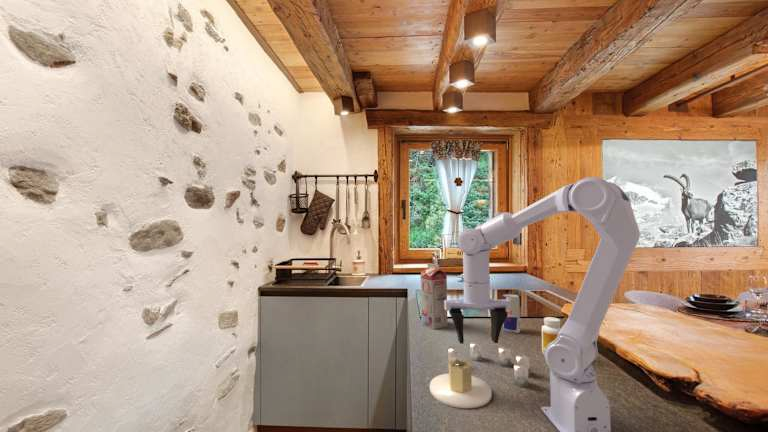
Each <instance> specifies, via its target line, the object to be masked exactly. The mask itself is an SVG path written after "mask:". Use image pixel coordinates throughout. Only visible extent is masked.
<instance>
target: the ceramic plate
mask: <svg viewBox="0 0 768 432" xmlns="http://www.w3.org/2000/svg"><path fill="white" fill-rule="evenodd" d="M471 378H472V390H471V391H468V392H465V393H459V392H456V391H452V390H451V389H450V386H449V372H448V373H442V374H440V375H437V376H434V377H433V378H432V379H431V380H430V382H429V391H430V394H431V395H432V397H433V398H434V399H435V400H437V401H438V402H439V403H442V404H444V405H446V406H449V407H454V408H457V409H476V408H477V409H478V408H481V407H483V406H486V405H487V404H489V402H490V401H492V395H493V394H492V388H491V386H490V385H489V384H488V383H487V382H486V381H485V380H482V379H481V378H479V377H477V376H474V375H471Z"/></svg>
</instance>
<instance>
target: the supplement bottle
mask: <svg viewBox="0 0 768 432" xmlns="http://www.w3.org/2000/svg"><path fill="white" fill-rule="evenodd" d="M543 323H544V325H542V326H541V351H542V352H541V353H542V354H543V355H544V353H545V349H546V347H547V345H548V344H550V343H551V342H553V341H554V340H555V339H556V338H557V336H558V334H559V332H560V330H561V328H562V327H561V319H560V318H557V317H551V316H546V317H543Z"/></svg>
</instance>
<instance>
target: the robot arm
mask: <svg viewBox="0 0 768 432" xmlns="http://www.w3.org/2000/svg"><path fill="white" fill-rule="evenodd" d="M631 202H632V201H631V199H630V196H628V194H626V192H625V191H624V190H623V189H622V188H621V187H620V186H619V185H617V184H616V183H614V182H611V181H607V180H605V179H603V178H601V177H598V176H588V177H584V178H581V179H580V180H578V181H577V182H575V183H570V184H567V185H564V186H563V187H560V188H559V189H557V190H555V191H554V192H552V193H550V194H548V195H546V196H544V197H543V198H541V199H539V200H537V201H535V202H534V203H531V204H530V205H529V206H526V207H524V208H523V209H520V210H519V211H517V212H515V213H514V214H513V213H510V212H508V211H506V212H505V211H504V212H501V211H498V212H496V213H494V214H493V216H494V217H493V218H490V219H489V220H487V221H484V222H479V223H476V227H475V228H472V227H470V228H469V227H467V228H464V229H463V231H461V232H460V233H459V235H458V237H457V245H458V248H459V250H460V251H461V252H462V268H463V270H462V273H463V274H462V275H463V277H462V278H463V298H455V299H447V300H444V309H445V310H446V311H447V312H449V315H450V317H451V319H452V322H453V324H454V326H455V331H456V335H457V340H458V342H459V344H464V342H465V339H464V337H465V336H464V321H465V320H464V317H465V315H464V314H463V310H464V311H465V310H466V311H467V310H471V311H473V310H479V311H480V310H489V315H490V336H491V341H492V342H493V343H494V344H498V343H499V339H500V333H501V330H502V329H503V323H504V322H505V320H506V318H507V316H508V312H506V310H511V306H510V301H509V300H507V299H501V298H500V299H499V298H498V299H497V298H491V289H490V288H491V287H490V285H491V284H490V282H491V281H490V252H491V251H492V249H493V248H495V247H497V246H499V245H503V244H504V243H506V242H508V241H511V240H514V239H515V238H518V237H519V236H520V234H521V232H522V229H523V228H525V227H528V226H530V225H532V224H535V223H538V222H540V221H542V220H544V219H547V218H549V217H552V216H555V215H558V214H559V213H578V214H580V215H581V216H582V217H583V218H585V219H587V221H589V222H590V224H591V225H592V227H593V229H594V230H595V231H596V232H597V234H598V236H599V237H600V239H599V242H598V245H597V248H596V250H595V251H594V254H593V256H592V259H591V262H590V264H589V266H588V268H587V272H586V273H585V275H584V279H583V281H582V283H581V286H580V288H579V290H578V294H577V295H576V297H575V298H576V299H575V300H574V303H573V305H572V308H571V310H570V312H569V314H568V317H567V319H566V321H565V323H564V324H563V325H562V327H561V330H560V332H559V334H558V336H557V338H556V339H555V340H554V341H553V342H551V343H550V344H548V345H547V347H546V349H545V353H544V354H543V355H544V356H543V357H544V361H545V362H546V365H547V366H548V368H549V389H550V390H549V391H550V393H549V394H550V406H541V411H542V412H543V413H544V415H546V417H547V418H548V419H549V421H550V422H551V423H552V424H553V425H554V427H556V429H557V430H558V431H559V432H612V431H611V430H612V429H611V404H610V402H609V399H608V397H607V395H605V394H604V392H603V391H602V390H601V388H599V385H598V381H597V373H596V372H595V369H594V367H593V365H592V363H593V362H594V361H595V360H596V359H597V357H598V353H599V351H598V338H599V337H600V336H599V335H600V329H601V327H602V324H603V323H604V319H605V317H606V315H607V313H608V310H609V308H610V306H611V304H612V301H613V299H614V297H615V295H616V292H617V290H618V288H619V285H620V283H621V281H622V280H623V276H624V274H625V272H626V270H627V267H628V265H629V263H630V261H631V258H632V256H633V254H634V251H635V250H636V247H637V245H638V243H639V241H640V237H641V232H640V229H639V226H638V223H637V219H636V216H635V214H634V210H633V207H632V203H631Z"/></svg>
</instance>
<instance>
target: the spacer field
mask: <svg viewBox="0 0 768 432" xmlns="http://www.w3.org/2000/svg"><path fill="white" fill-rule="evenodd" d="M447 349H448V350H447V355H448V357H447V358H448V360H447V361H451V360H455V359H460V360H461V348H460V347H458V346H449V347H448V348H447ZM497 351H498V353H497V354H498V355H497V356H498V365H499V366H501V367H504V366H505V368H508V366H509V367H511V366H512V350H511V348H510V347H508V346H505V345H504V346H502V345H500V346H498V349H497ZM482 353H483V352H482V343H481V342H479V341H470V342H469V358H470V360H471V361H475V362H479V361H482ZM530 367H531V366H530V356H529V355H527V354H523V353H517V354H516V355H515V363H513V384H514V385H515V386H518V387H520V388H527V387H529V384H530V383H529V376H530V375H531V373H530V372H531V371H530Z"/></svg>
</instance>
